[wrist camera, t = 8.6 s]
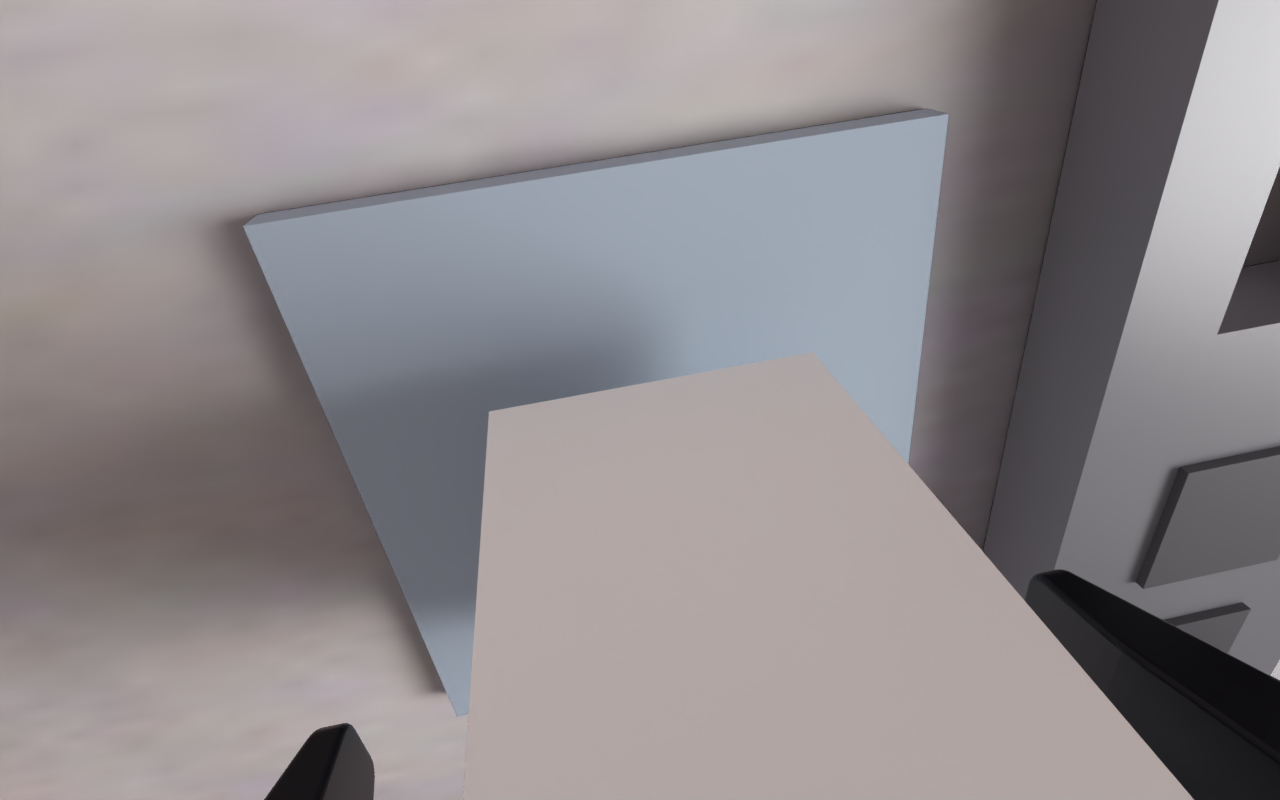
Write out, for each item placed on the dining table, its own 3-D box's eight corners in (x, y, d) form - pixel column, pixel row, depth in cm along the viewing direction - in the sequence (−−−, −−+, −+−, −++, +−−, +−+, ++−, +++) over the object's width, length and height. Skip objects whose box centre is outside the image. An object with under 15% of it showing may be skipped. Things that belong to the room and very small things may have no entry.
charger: (775, 568, 14) (1213, 1525, 5) (561, 612, 14) (642, 1714, 5) (770, 302, 11) (1867, 1591, 2) (493, 352, 10) (372, 2141, 2)
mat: (877, 602, 16) (889, 622, 15) (459, 692, 15) (456, 716, 15) (927, 108, 10) (948, 114, 10) (257, 214, 9) (243, 226, 9)
